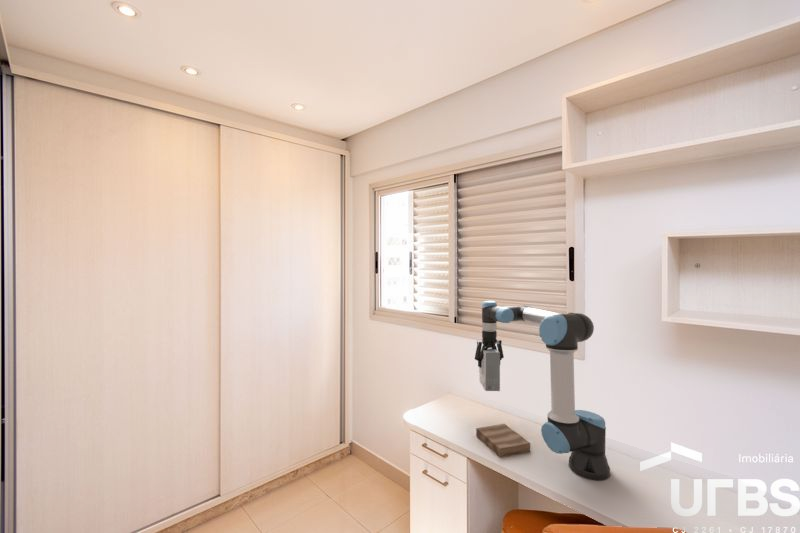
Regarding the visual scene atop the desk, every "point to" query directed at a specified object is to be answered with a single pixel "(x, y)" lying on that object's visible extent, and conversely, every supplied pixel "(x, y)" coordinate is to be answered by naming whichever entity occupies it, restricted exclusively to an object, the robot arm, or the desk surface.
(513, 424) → the desk surface
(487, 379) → the hard drive box
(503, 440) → the walnut riser
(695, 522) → the desk surface
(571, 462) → the robot arm
